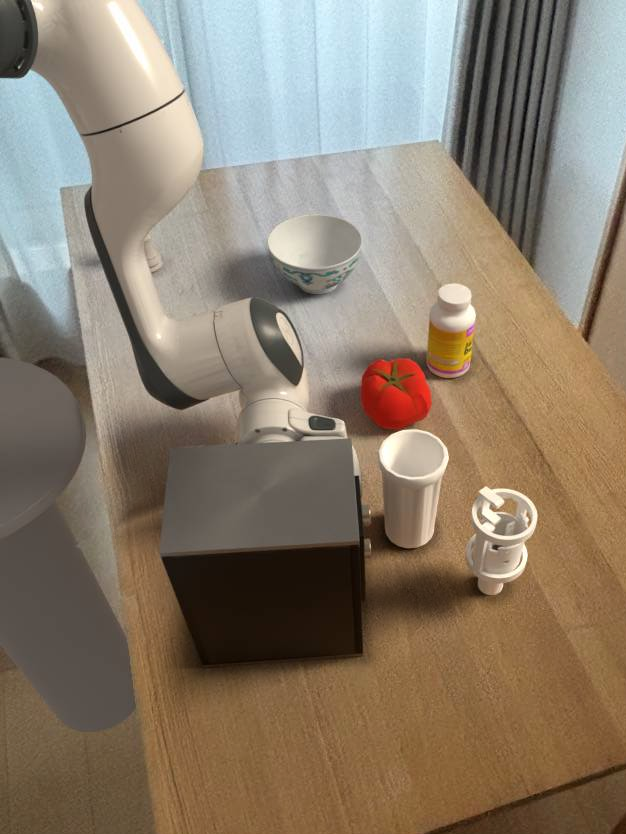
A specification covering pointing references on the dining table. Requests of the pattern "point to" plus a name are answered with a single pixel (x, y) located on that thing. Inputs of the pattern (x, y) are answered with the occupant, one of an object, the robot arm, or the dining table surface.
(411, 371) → the tomato
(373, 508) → the dining table surface
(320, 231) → the chinaware
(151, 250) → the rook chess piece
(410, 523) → the cup
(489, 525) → the white ringed cylindrical holder
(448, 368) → the supplement bottle
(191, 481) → the oven
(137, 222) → the robot arm
